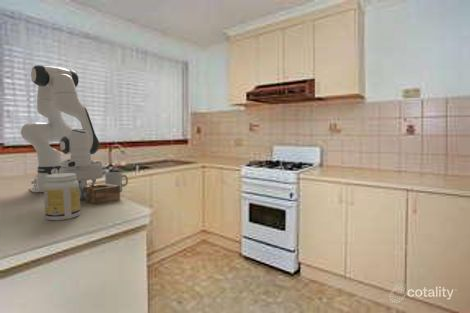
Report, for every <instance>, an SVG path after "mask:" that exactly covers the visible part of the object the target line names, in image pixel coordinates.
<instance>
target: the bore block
mask: <svg viewBox="0 0 470 313" xmlns="http://www.w3.org/2000/svg"><path fill="white" fill-rule="evenodd" d="M85 194H86V200H85V202H86V203H90V204H92V205H93V204H94V205H99V204H100V203H101V204H105V202H106V203H110V202H109V201H111V202H114V201H113V200H116V201H118V200H117V199H120V200H121V192H120V186H118V185H113V184H106V183H104V184H98V185H94V186H87V187H85Z"/></svg>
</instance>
